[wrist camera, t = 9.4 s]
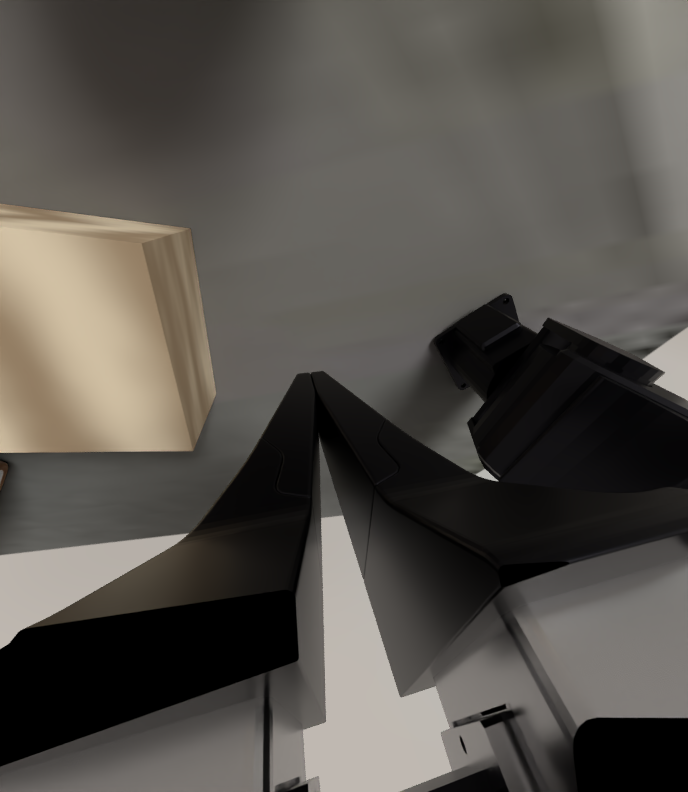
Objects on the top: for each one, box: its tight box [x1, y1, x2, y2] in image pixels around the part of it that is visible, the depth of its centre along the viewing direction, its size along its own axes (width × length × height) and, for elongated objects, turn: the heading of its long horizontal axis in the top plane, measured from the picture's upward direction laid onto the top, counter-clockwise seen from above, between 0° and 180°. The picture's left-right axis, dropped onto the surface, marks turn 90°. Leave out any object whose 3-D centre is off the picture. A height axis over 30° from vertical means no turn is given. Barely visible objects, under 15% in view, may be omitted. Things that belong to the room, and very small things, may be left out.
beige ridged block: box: [0, 204, 216, 453], centre depth 16 cm, size 14×12×6 cm
